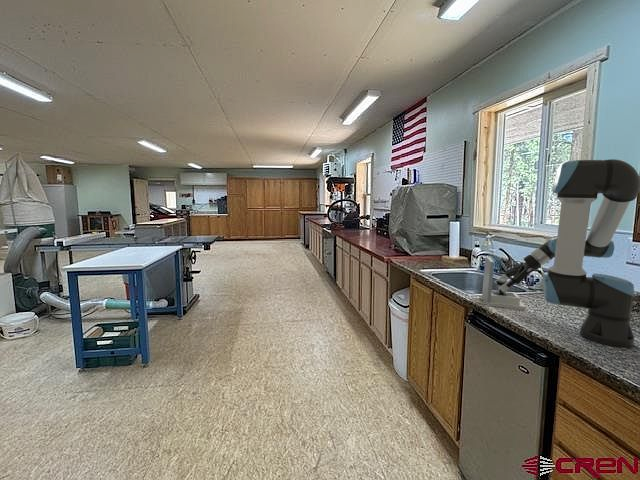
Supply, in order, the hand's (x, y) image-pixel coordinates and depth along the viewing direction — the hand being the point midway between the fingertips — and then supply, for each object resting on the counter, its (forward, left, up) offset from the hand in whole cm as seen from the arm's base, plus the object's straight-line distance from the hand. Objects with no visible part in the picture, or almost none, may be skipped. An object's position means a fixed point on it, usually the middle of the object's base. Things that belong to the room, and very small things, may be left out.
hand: (498, 287), depth 164 cm
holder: (0, -2, -8) cm, 8 cm away
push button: (0, -2, -6) cm, 7 cm away
